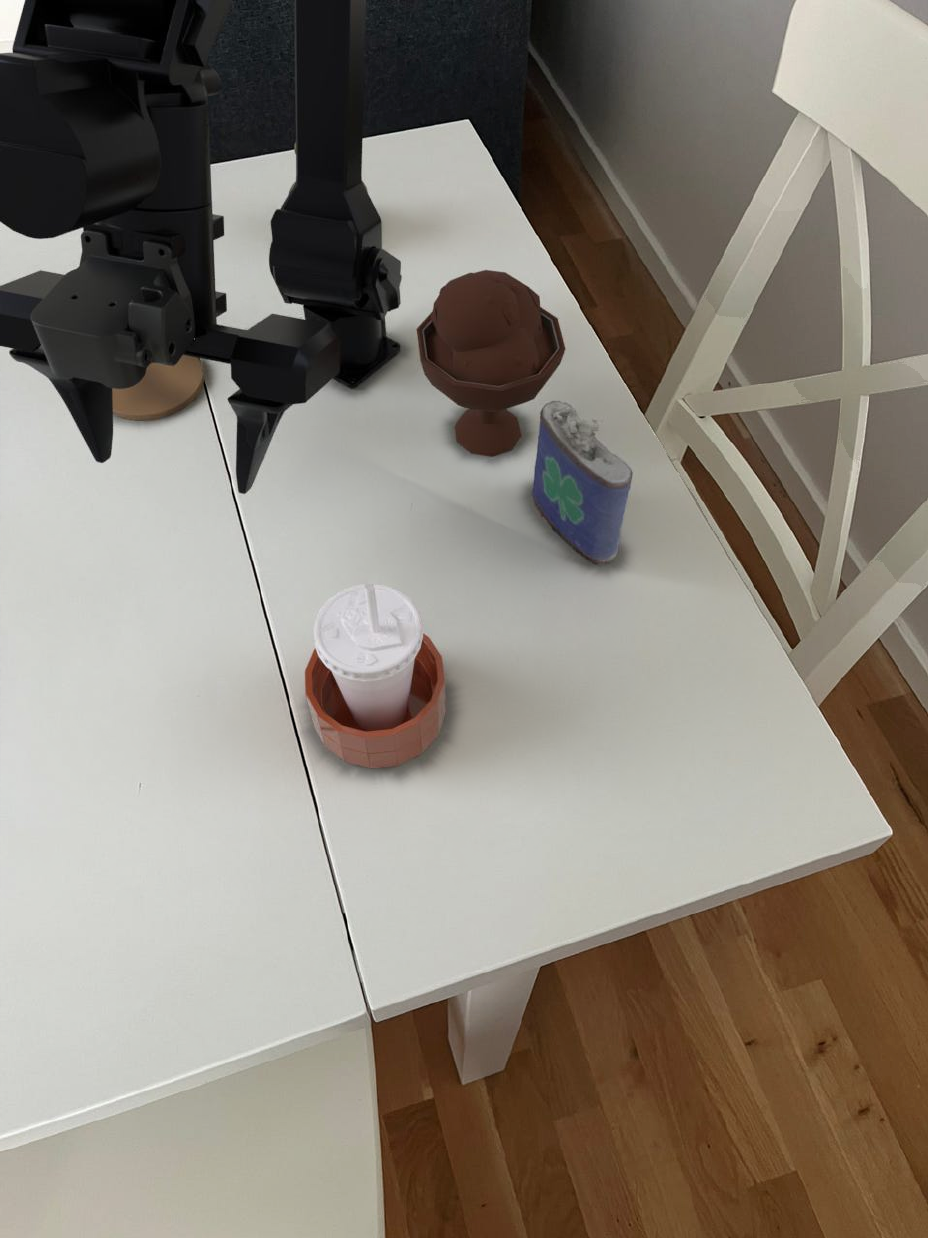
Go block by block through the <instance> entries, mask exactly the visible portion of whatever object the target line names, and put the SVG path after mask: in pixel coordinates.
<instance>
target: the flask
mask: <svg viewBox="0 0 928 1238" xmlns="http://www.w3.org/2000/svg"><path fill="white" fill-rule="evenodd" d="M592 422H593V424H591V425H590V424H588V422H587V420H586V419H580V416H579V414H578V412H577V410H576V409H575V408H574V407H573V406H572V405H571V404H570V403H568V402H566V401H560V400H552V401H549V402H548V403H545V405H543V407H542V408H541V410H540V412H539V431H538V436H537V445H536V446H537V447H536V448H537V450H536V458H535V464H534V471H533V472H534V475H533V483H532V490H531V499H532V502H533V504H534V507H535V508H536V509H537V511H538V513H539V515H540V517H541V518H543V520H544V522H545V523H546V524H547V526H548V527H550V528H551V530H552V531H553V532H555V533H556V534H558V536H559V537H560V538H561V539H562V540H563V541H564V542H565V543H566V544H567V545H568V546H569V547H571V549H573V551H575V552H576V553H577V554H579V556H580V557H581V558H583V559H585V560H586V561H588V562H590V563H591V564H593V565H596V566H607V565H608V564H610V563H612V562H613V561H615V559H616V557H617V554H618V551H619V545H620V537H621V534H622V533H621V532H622V526H623V522H624V516H625V512H626V506H627V501H628V497H629V492H630V489H631V487H632V482H633V476H634V475H633V474H634V472H633V470H632V467H630V465H628V463H627V462H625V461H624V460H622V459H621V458H619V457H618V456H617V455H616V454H615V453H613V452H612V451H610V450H609V449H608V448H607V447H606V446H605V445H604V444H603V443H601V441H600V440H598V438H596V433H595V432H599V431H600V429H601V428H600V425H599V423H598V420H597V419H595V418H592Z"/></svg>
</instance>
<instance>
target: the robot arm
mask: <svg viewBox="0 0 928 1238" xmlns="http://www.w3.org/2000/svg"><path fill="white" fill-rule="evenodd" d="M233 3H234V0H24V3H23V5H22V6H23V7H22V9H21V13H20V16H19V17H20V18H19V21H18V24H17V25H18V26H17V30H16V31H15V32H16V33H15V38H14V40H13V43H12V48H11V49H12V52H0V223H1V224H2V225H4V226H5V227H7V228H8V229H10V230H11V231H13V232H15V233H17V234H20V235H22V236H24V237H27V238H31V239H36V240H44V239H54V238H57V237H60V236H64V235H65V234H68V233H69V234H70V233H72V232H74V231H77V230H80V229H82V232H81V234H80V244H81V255H80V260H79V265H78V267H77V268H74V269H72V270H70V271H68V272H66V273H65V274H64V273H63V274H62V273H59V272H51V271H46V270H42V269H40V270H38V271H35V272H33V273H30V274H26V275H25V276H22V277H19V278H17V279H14V280H12V281H9V282H7V283H3V284H1V285H0V347H3V348H8V349H10V350H9V351H8V354H9V355H10V357H11V358H12V359H13V360H14V361H16V362H19V363H23V364H25V365H27V366H29V367H30V368H32V369H33V370H35V371H37V372H38V373H40V374H42V375H43V376H44V377H46V379H48V380H49V381H50V382H51V384H52V385H53V387H54V389H55V390H56V391H57V393H58V395H59V396H60V398H61V400H62V401H63V404H65V406H66V408H67V410H68V412H69V413H70V415H71V417H72V420H73V421H74V423H75V425H76V427H77V429H78V430H79V433H80V434H81V436H82V438H83V440H84V442H85V443H86V445H87V448H88V450H89V451H90V453H91V455H92V458H93V459H94V460H95V462H97V463H99V464H104V463H105V462H107V461H108V460H110V459H111V457H112V451H113V443H114V441H113V439H114V414H113V394H112V388H115V389H125V388H130V387H132V386H134V385H136V384H138V383H139V382H140V381H141V380H142V378H143V377H144V376H145V374H146V369H147V367H148V366H149V365H150V364H151V363H159V364H164V365H169V366H175V365H176V364H177V362H178V361H179V360H180V358H181V357H182V355H187V356H192V357H197V358H198V359H202V360H208V361H212V362H218V363H221V364H222V363H223V364H228V365H230V379H231V380H232V381H233V383H234V384H235V385H236V386H237V387H238V388H239V389H237V390H236V391H235V392H234V393H232V394H231V395H230V396H228V397H227V402H228V404H229V405H230V407H231V409H232V410H233V412H234V414H235V415H236V445H235V447H236V449H235V453H236V454H235V476H236V477H235V478H236V485H237V492H238V494H241V495H245V494H247V493H248V492H249V491H250V490H251V489H252V487H253V486H254V483H255V482H256V481H255V480H256V479H257V476H258V473H259V471H260V469H261V466H262V464H263V461H264V460H265V457H266V454H267V451H268V450H269V447H270V444H271V442H272V440H273V437H274V435H275V433H276V430H277V428H278V425H279V423H280V421H281V420H282V418H283V416H284V414H285V412H286V411H287V410H288V409H289V408H290V407H292V406H293V405H298V404H306V403H307V402H308V401H310V400H311V398H313V397H314V396H315V395H316V394H317V393H318V392H319V391H321V390H322V389H323V388H324V387H325V386H326V385H327V384H329V382H331V381H332V380H334V381H336V382H337V383H340V384H341V385H343V386H345V387H347V388H349V389H356V388H358V387H359V386H360V385H362V383H364V382H365V381H367V379H369V378H370V377H371V376H373V375H374V374H375V373H376V372H377V371H378V370H379V369H381V368H382V367H383V366H384V365H386V364H387V363H388V362H389V361H391V360H392V359H394V358H395V356H397V355H398V354H399V353H401V351H402V347H401V344H400V343H399V342H397V341H395V340H394V339H392V338H389V337H388V336H387V325H386V316H387V314H388V313H389V312H391V311H394V310H396V309H399V308H400V305H401V303H402V302H401V288H400V287H401V283H402V278H403V275H402V273H401V271H402V262H401V260H400V259H398V258H397V257H395V256H394V255H392V254H391V253H389V252H388V251H387V250H386V249H384V248H383V226H382V225H383V224H382V218H381V216H380V214H379V212H378V210H377V208H376V206H375V204H374V202H373V200H372V198H371V197H370V194H369V192H368V193H367V191H366V189H365V187H364V185H363V183H362V181H363V177H362V175H363V172H362V171H363V136H364V135H363V134H364V101H365V100H364V99H365V98H364V97H365V66H366V65H365V62H366V61H365V60H366V59H365V58H366V24H367V23H366V22H367V21H366V20H367V0H294V1H293V3H294V84H295V85H294V91H295V92H294V93H295V97H294V98H295V142H296V154H295V181H296V183H295V185H294V187H293V188H292V190H291V192H290V193H289V192H288V194H289V195H288V194H287V196H286V198H285V200H284V202H283V204H282V205H281V207H280V208H276V209H275V211H274V212H273V214H272V217H271V219H270V231H271V243H270V247H269V253H268V264H269V265H268V267H269V272H270V275H271V276H272V279H273V281H274V283H275V285H276V287H277V289H278V291H279V294H280V296H281V297H282V300H283V302H284V303H285V304H288V305H289V304H290V305H292V304H296V305H301V306H302V308H303V314H304V318H298V317H293V316H288V315H282V314H277V313H271V314H269V315H268V316H266V317H264V318H263V319H262V320H260V321H259V322H257V323H255V324H254V325H252V326H251V327H250V328H248V329H245V328H239V327H234V326H227V325H223V324H218V323H217V322H218V321H217V320H218V319H217V318H218V317H219V316H222V315H223V314H224V313H227V312H228V306H227V305H228V304H227V293H226V292H221V291H216V270H215V269H216V268H215V244H214V243H215V242H214V241H215V240H218V239H220V238H222V237H224V236H225V216H224V215H220V214H214V213H213V196H212V195H213V194H212V170H211V168H212V167H211V142H210V141H211V140H210V119H209V118H210V117H209V116H210V115H209V101H208V99H209V96H210V97H211V96H216V95H219V94H221V93H222V91H223V88H224V87H223V81H222V79H221V78H220V76H219V74H218V73H217V71H216V70H215V69H214V68H213V67H212V66H211V65H210V64H209V63H207V61H208V59H209V56H210V54H211V51H212V49H213V46H214V43H215V42H216V40H217V38H218V36H219V34H220V32H221V31H222V28H223V26H224V25H225V23H226V21H227V18H228V16H229V14H230V11H231V7H232V6H233Z"/></svg>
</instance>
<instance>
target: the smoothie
mask: <svg viewBox="0 0 928 1238" xmlns="http://www.w3.org/2000/svg"><path fill="white" fill-rule="evenodd" d="M423 633H424V631H423V624H422V619H421V615H420V611H419V610H418V607H417V606H416V604H415V603H414V601H412V600H411V598H410V597H408V596H407V595H406V594H405V593H403V592H402V591H400V590H399V589H396V588H394V587H391V586H388V585H385V584H376V583H373V582H371V581H368V582H365V583H364V584H356V585H353V586H349V587H347V588H345V589H342V590H340V591H338V592H337V593H335V594H334V595H333V596H331V597H330V598H328V599H327V601H326V602H325V603H324V604H323V605H322V607H321V608H320V609H319V611H318V613H317V615H316V616H315V620H314V625H313V638H314V648H316V650H317V653H318V656H319V658H320V659H321V660H322V662H323V663H324V664H325V666H326V667H327V668H329V669H330V670H331V672H332V673H333V676H334V678H335V680H336V682H337V684H338V686H339V688H340V691H341V693H342V695H343V697H344V699H345V701H346V703H347V705H348V708H349V710H350V712H351V714H352V716H353V718H354V720H355V722H356V723H357V724H358V725H359V726H360V727H361V728H363V729H364V730H366V731H378V730H387V729H393V728H395V727H397V726H398V725H400V724H401V722H402V721H403V720H404V718H405V716H406V713H407V708H408V701H409V694H410V687H411V680H412V674H413V667H414V660H415V657H416V655H417V653H418V652H419V650H420V648H421V643H422V639H423Z"/></svg>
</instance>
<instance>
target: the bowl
mask: <svg viewBox="0 0 928 1238" xmlns="http://www.w3.org/2000/svg"><path fill="white" fill-rule="evenodd" d="M445 676H446V675H445V669H444V661H443V657H442V654H441V653H440V652H439V650H438V648H437V647H436V645H435V644H434V643H433V641H432V639H431V637H429V636H428V635H427V634H425V633H424V632H423V639H422V643H421V648H420V650H419V652H418V653H417V655H416V657H415V660H414V667H413V674H412V680H411V687H410V694H409V701H408V708H407V713H406V716H405V718H404V720H403V721H402V722H401V724H400V725H398V726H397V727H395V728H393V729H387V730H378V731H366V730H364V729H363V728H361V727H360V726H359V725H358V724H357V723H356V722H355V720H354V718H353V716H352V714H351V712H350V710H349V708H348V705H347V703H346V701H345V699H344V697H343V695H342V693H341V691H340V688H339V686H338V684H337V682H336V680H335V678H334V676H333V673H332V672H331V670H330V669H329V668H327V667H326V666H325V664H324V663H323V662H322V660H321V659H320V658H319V656H318V653H317V650H316V647H314V649H313V651H312V654H311V655H310V658H309V660H308V663H307V665H306V667H305V670H304V687H305V689H304V690H305V698H306V702H307V704H308V709H309V712H310V716H311V719H312V723H313V727H314V729H315V730H316V733H317V734H318V736H319V739H320V741H321V743H322V744H323V746H325V748H326V749H327V750H328V751H330V752H331V753H332V754H334V755H335V756H336V757H338V758H340V759H341V760H342V761H343V762H346V763H349V764H352V765H356V766H360V767H365V768H368V769H380V768H387V767H397V766H400V765H402V764H404V763H406V762H408V761H410V760H412V759H413V758H415V757H417V756H419V755H422V754H423V753H424V752H425V751H426V749H428V748H429V746H430V745H431V744H432V743H433V741H435V739H436V738H438V736H439V734H440V732H441V729H442V725H443V722H444V719H445V716H446V712H447V700H446V677H445Z"/></svg>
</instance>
